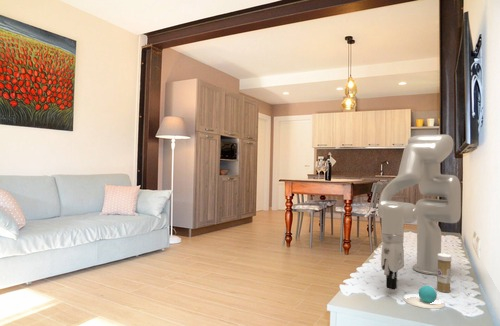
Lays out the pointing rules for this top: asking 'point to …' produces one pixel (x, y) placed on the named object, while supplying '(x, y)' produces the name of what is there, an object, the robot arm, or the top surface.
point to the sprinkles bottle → (444, 272)
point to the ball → (427, 294)
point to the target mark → (423, 303)
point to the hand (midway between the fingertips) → (391, 288)
